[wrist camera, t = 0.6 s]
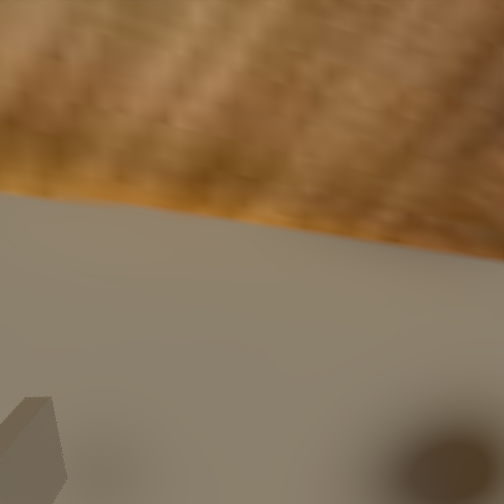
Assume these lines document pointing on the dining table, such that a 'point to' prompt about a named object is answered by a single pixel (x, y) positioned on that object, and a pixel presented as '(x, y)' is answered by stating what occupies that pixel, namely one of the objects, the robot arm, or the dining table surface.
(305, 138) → the dining table surface
